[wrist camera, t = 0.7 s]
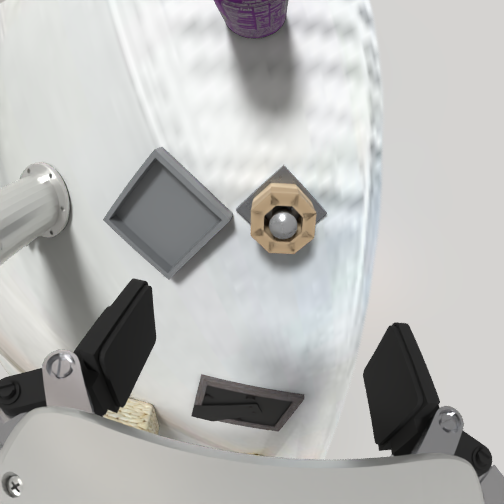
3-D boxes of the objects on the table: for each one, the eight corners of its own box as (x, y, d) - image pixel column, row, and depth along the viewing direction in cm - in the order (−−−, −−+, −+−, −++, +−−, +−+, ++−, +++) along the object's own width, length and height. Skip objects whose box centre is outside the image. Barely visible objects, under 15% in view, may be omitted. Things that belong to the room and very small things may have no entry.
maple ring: (279, 247, 37) (280, 264, 33) (241, 209, 35) (237, 222, 31) (321, 212, 34) (328, 226, 30) (283, 171, 33) (285, 179, 29)
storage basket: (159, 403, 58) (142, 454, 45) (165, 430, 65) (153, 473, 52) (75, 376, 58) (52, 418, 45) (92, 407, 65) (74, 444, 52)
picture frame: (193, 409, 58) (278, 426, 60) (191, 416, 57) (278, 432, 58) (202, 372, 51) (303, 392, 53) (200, 380, 49) (304, 400, 51)
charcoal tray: (174, 270, 40) (169, 279, 38) (111, 213, 37) (103, 219, 35) (233, 213, 36) (230, 220, 34) (162, 146, 32) (154, 149, 30)
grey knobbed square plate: (279, 250, 38) (280, 272, 33) (236, 208, 36) (230, 224, 31) (326, 212, 35) (335, 228, 30) (283, 164, 33) (285, 173, 28)
